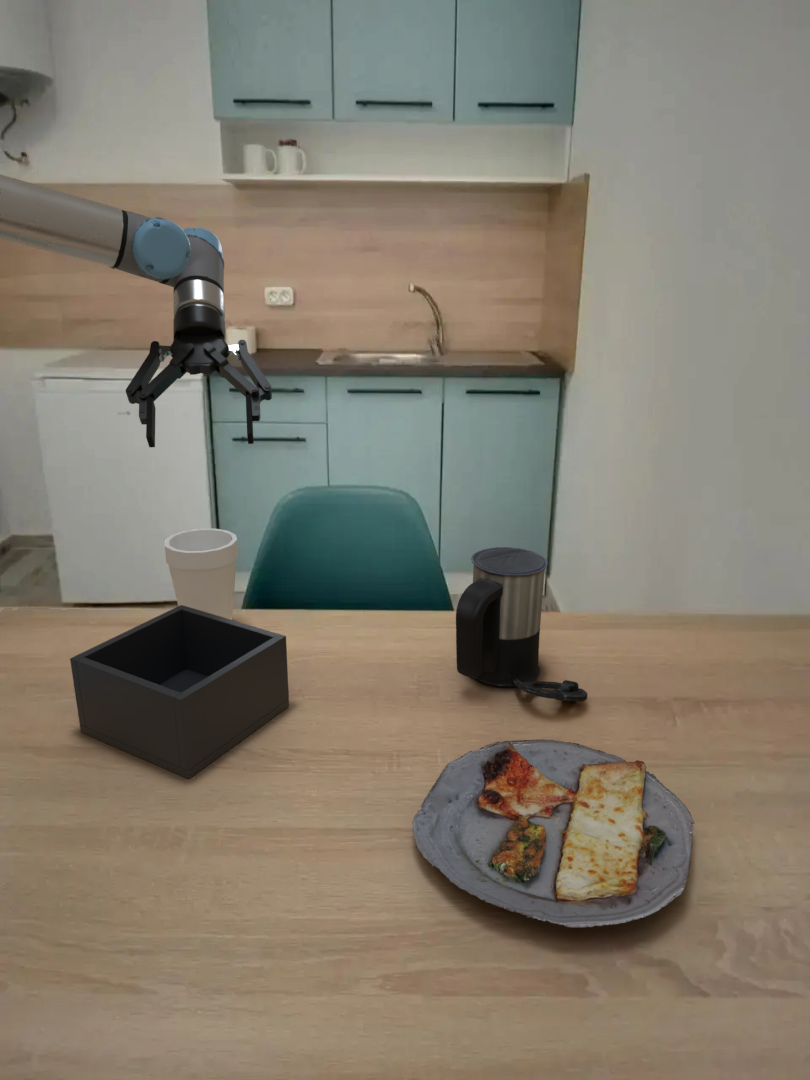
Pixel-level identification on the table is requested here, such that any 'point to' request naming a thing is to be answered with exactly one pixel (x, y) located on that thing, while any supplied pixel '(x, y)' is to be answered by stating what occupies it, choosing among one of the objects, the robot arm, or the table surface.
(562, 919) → the food plate
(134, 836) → the table surface
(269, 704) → the black storage bin
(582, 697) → the milk frother
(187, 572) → the foam cup
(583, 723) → the table surface
